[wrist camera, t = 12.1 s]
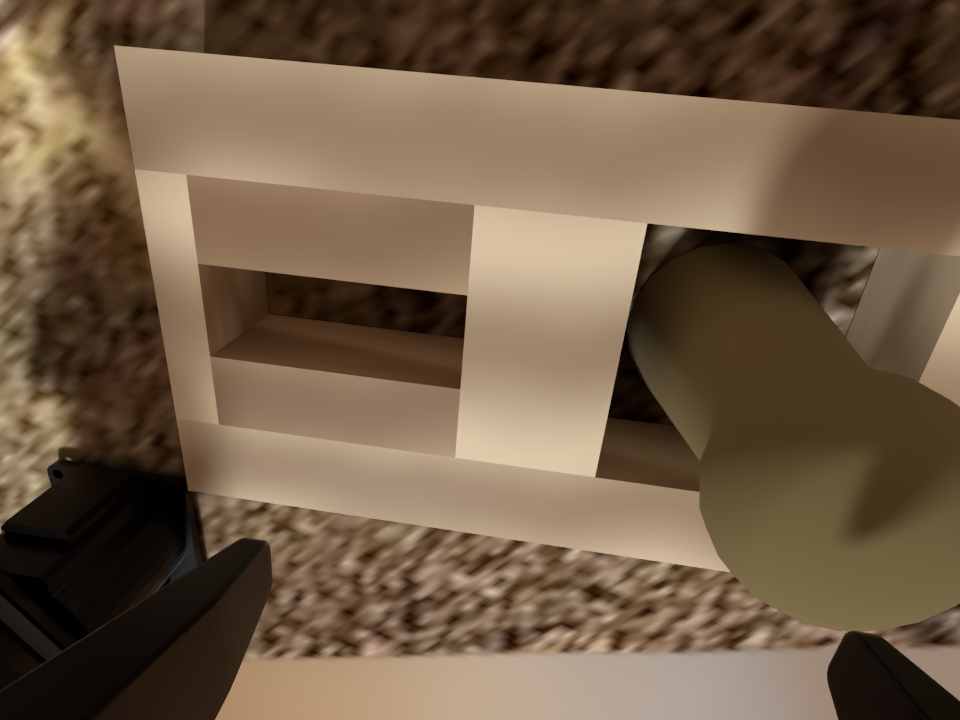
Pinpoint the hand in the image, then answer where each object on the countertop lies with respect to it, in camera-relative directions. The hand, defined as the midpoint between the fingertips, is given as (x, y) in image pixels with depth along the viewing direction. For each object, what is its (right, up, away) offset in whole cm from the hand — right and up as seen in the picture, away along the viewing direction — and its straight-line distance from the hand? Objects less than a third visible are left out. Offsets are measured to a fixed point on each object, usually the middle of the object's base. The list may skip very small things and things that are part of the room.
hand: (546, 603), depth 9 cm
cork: (+7, +5, +11) cm, 14 cm away
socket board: (+1, +6, +11) cm, 13 cm away
